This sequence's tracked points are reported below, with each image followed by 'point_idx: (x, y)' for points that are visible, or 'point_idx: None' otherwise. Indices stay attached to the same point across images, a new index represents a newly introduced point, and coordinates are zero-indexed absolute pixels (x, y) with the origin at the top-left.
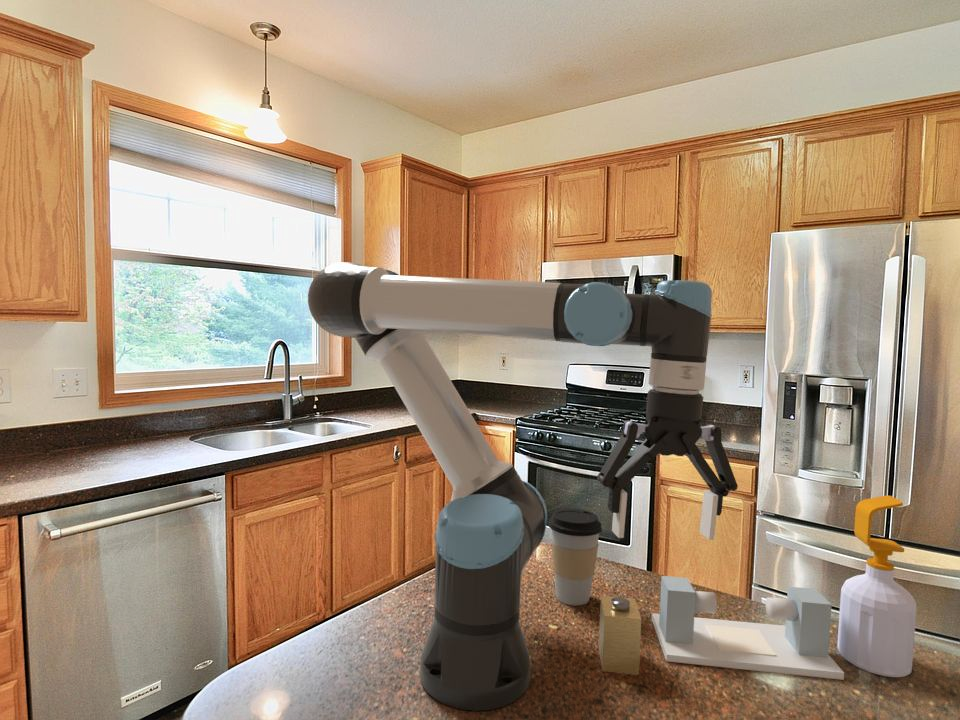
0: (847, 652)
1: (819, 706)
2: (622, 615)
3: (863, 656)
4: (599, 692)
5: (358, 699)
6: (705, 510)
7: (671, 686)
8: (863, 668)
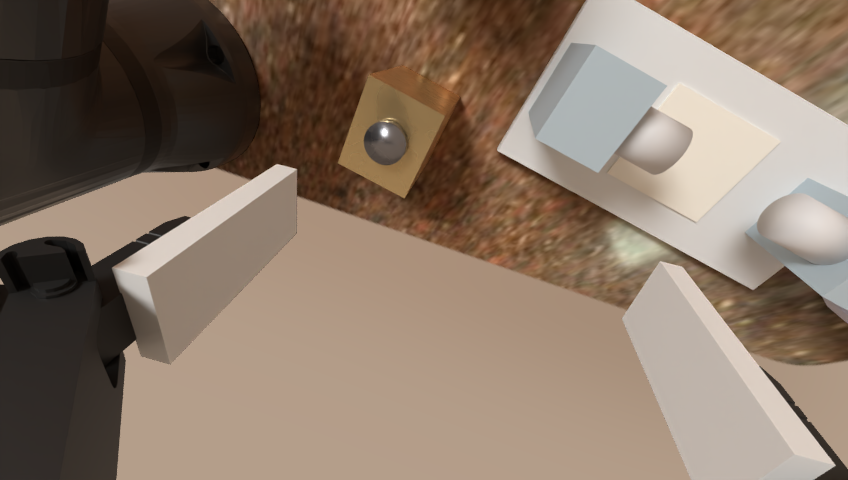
0: None
1: (628, 301)
2: (374, 174)
3: None
4: (349, 178)
5: None
6: (694, 368)
7: (458, 202)
8: None
